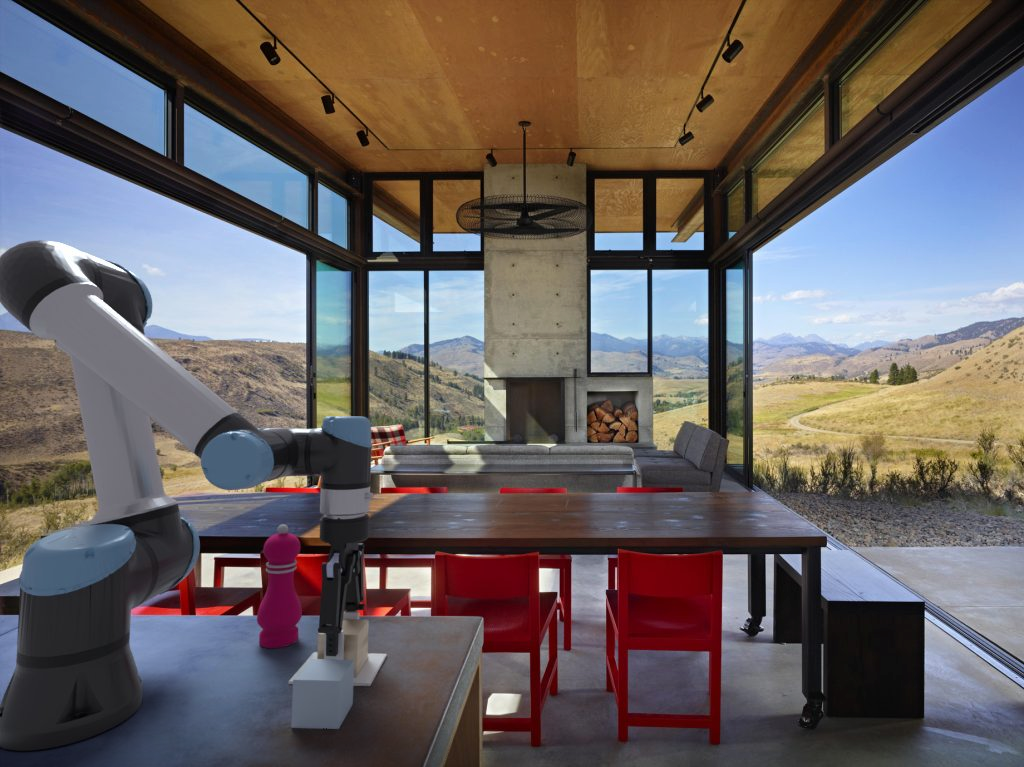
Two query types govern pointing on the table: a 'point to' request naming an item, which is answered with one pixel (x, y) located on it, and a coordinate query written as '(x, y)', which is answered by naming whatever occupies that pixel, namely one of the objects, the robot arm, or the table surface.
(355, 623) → the maple cube
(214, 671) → the table surface
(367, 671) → the mat
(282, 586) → the pepper mill
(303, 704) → the slate cube
